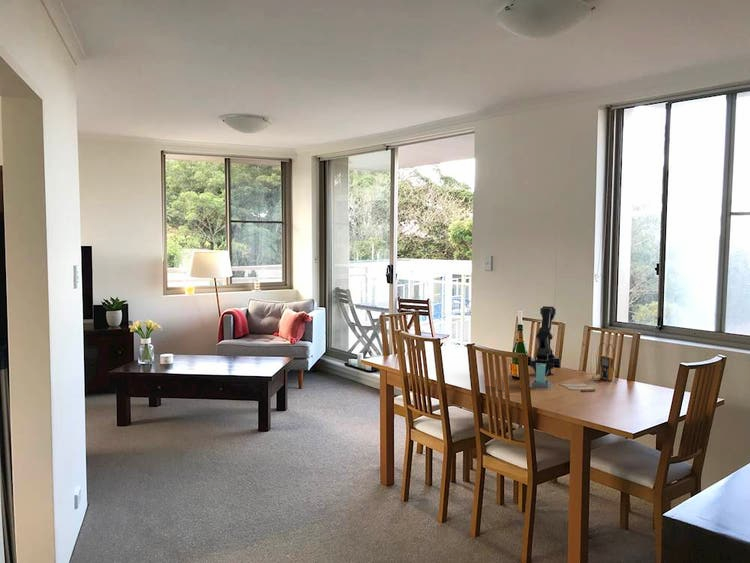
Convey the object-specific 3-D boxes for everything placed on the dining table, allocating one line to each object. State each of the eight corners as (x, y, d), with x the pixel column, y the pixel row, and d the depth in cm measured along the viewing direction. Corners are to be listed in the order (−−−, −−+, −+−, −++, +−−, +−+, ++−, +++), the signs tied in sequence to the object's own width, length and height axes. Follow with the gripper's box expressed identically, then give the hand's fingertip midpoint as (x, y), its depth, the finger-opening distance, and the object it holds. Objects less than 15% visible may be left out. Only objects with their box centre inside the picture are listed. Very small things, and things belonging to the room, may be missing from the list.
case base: (531, 383, 316) (531, 377, 315) (552, 385, 312) (552, 379, 311) (528, 389, 302) (528, 383, 302) (550, 391, 299) (550, 385, 298)
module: (536, 383, 310) (537, 363, 309) (545, 384, 309) (545, 364, 308) (535, 386, 305) (536, 365, 305) (544, 386, 304) (545, 365, 303)
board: (559, 386, 310) (559, 383, 310) (582, 385, 312) (582, 382, 312) (571, 392, 297) (571, 389, 297) (595, 391, 299) (595, 388, 299)
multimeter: (584, 377, 329) (585, 342, 327) (598, 376, 333) (599, 341, 331) (604, 383, 315) (605, 346, 314) (618, 382, 319) (619, 345, 318)
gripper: (524, 340, 312) (521, 365, 303) (560, 343, 306) (558, 368, 296) (525, 352, 320) (522, 377, 311) (561, 355, 314) (559, 380, 304)
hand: (540, 375), depth 305 cm, fingers closed on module, 4 cm apart
